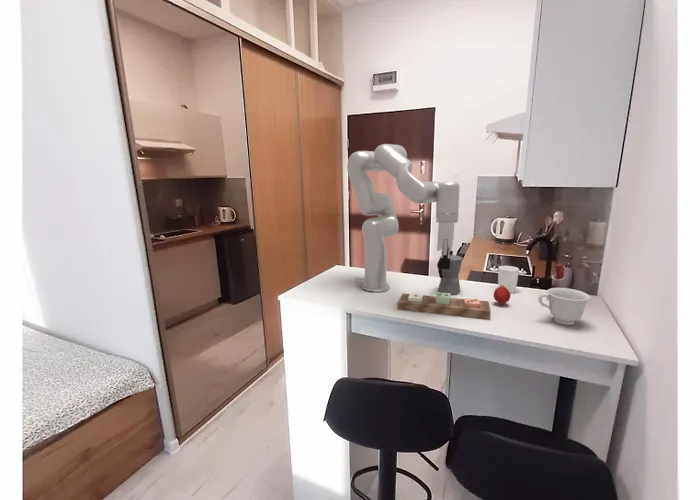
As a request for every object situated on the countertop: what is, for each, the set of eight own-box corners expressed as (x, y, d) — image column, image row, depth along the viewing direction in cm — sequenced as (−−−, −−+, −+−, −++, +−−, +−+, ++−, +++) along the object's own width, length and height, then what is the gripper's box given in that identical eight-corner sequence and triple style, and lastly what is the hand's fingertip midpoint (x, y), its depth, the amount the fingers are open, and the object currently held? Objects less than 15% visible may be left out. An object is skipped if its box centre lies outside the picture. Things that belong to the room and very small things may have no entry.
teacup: (528, 313, 118) (531, 287, 116) (573, 314, 116) (577, 287, 114) (544, 328, 106) (548, 299, 104) (594, 330, 104) (599, 300, 102)
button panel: (397, 309, 123) (397, 302, 123) (402, 300, 133) (402, 293, 132) (490, 319, 113) (490, 311, 113) (488, 308, 122) (488, 301, 122)
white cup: (492, 289, 144) (494, 267, 142) (505, 286, 147) (507, 264, 145) (507, 294, 137) (509, 271, 135) (521, 292, 140) (523, 269, 138)
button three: (464, 311, 118) (464, 302, 117) (464, 306, 123) (464, 297, 122) (479, 312, 116) (479, 303, 116) (478, 307, 121) (479, 298, 120)
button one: (407, 305, 124) (408, 296, 124) (409, 300, 129) (410, 292, 128) (421, 306, 123) (421, 298, 122) (422, 302, 127) (423, 293, 127)
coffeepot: (448, 285, 149) (450, 246, 146) (467, 290, 142) (470, 250, 138) (427, 293, 140) (428, 252, 136) (446, 299, 133) (448, 255, 129)
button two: (435, 304, 121) (435, 296, 120) (436, 300, 125) (436, 291, 125) (449, 306, 119) (450, 297, 119) (450, 301, 124) (450, 292, 123)
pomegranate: (496, 300, 130) (498, 281, 129) (511, 304, 126) (513, 284, 125) (490, 304, 127) (491, 284, 125) (505, 308, 122) (507, 288, 121)
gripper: (437, 215, 124) (435, 263, 127) (434, 220, 110) (432, 273, 114) (458, 215, 121) (456, 264, 125) (457, 220, 108) (455, 274, 111)
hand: (445, 268), depth 119 cm, fingers closed
